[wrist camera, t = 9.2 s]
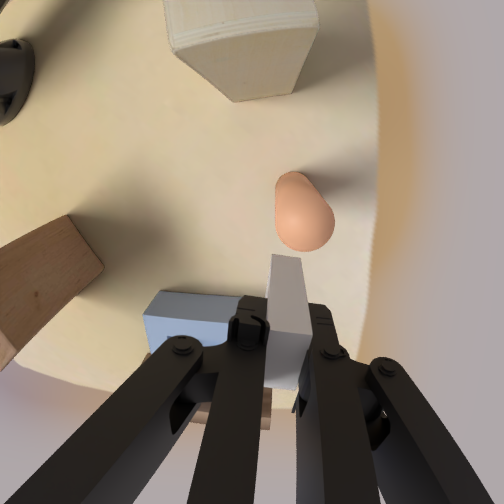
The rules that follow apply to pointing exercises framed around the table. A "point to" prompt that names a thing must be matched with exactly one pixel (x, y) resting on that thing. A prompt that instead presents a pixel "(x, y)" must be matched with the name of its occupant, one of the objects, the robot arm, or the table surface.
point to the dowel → (301, 214)
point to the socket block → (188, 317)
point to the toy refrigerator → (243, 42)
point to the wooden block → (40, 281)
